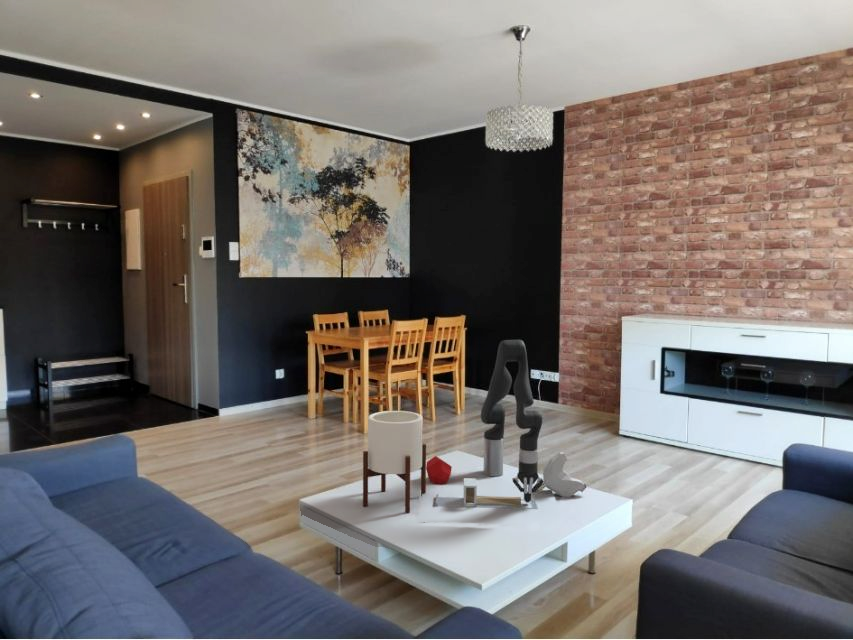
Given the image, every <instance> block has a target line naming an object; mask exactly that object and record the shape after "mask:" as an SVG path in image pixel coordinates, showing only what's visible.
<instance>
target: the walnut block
mask: <svg viewBox="0 0 853 640" xmlns="http://www.w3.org/2000/svg"><path fill="white" fill-rule="evenodd" d="M466 503H474V488H467V487H466Z"/></svg>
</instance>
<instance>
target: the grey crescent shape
mask: <svg viewBox="0 0 853 640" xmlns="http://www.w3.org/2000/svg"><path fill="white" fill-rule="evenodd" d="M566 461H567V457H566V454H565V453H564V452H561V451H560V452H558V453H557V454H555V455H554V456H552V457H551V458H550V459H549V460H548V462H547V464H546V465H545V467H544V468H543V471H542V479H543V481H544V482H543V484H542V485H541V486H540V487H539V488H538V490H537V491H538V492H539V493H541V491H543V490H544V489H545V488H547V489H548V490H550V491H552V492H554V493H556V494H557V496H560V497H572V496H573V495H575V494H576V493H577V492H581V493H583V492H584V491H585V490H586V488H587V485H586V483H584V482H582V480H580V479H577V478H574V477H571V476H569V474H568V473H567V472H566V470H564V466H565V464H566Z"/></svg>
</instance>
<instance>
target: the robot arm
mask: <svg viewBox="0 0 853 640" xmlns="http://www.w3.org/2000/svg"><path fill="white" fill-rule="evenodd" d="M527 355H528V353H527V348H526V344H525V342H524V341H523V340H522V339H504V340H502V341H500V343H499V345H498V348H497V355H496V360H495V366H494V369H493V372H492V376H491V379H490V383H489V387H488V391H487V395H486V397H485V399H484V403H483V405H482V407H481V409H480V410H481V411H480V419H481V422H482V423H483V424H485V425H493V427H490V428H489V429H487V430H485V431H484V435H483V474H484V475H486V476H489V477H500V476H503V475H504V438H505V437H504V436H505V435H504V434H505V425H506V424H505V423H506V409H505V407H504V405H503V404H501V403H500V404H499V402H500V401H502V400H503V399H504V398H506V397H507V396H508V394H509V392H510V390H511V387H512V384H513V393H514V394H513V395H514V398H515V404H516V405H515V406H516V413H515V424H516V426H517V427H518V428H519V429H522V430H528V429H529V430H528V431H527V432H524V433H523V434H521V435H520V436H519V453H518V472H517V476H515V477H513V478H512V480H511V481H512V483H513V484H514V485H515V487H516V489H518V490H519V492H520V493H523V499H524V500H523V501H524V502H525V503H531V500H532V494H533V493H536V492H537V491H539V490H538V488H539V487H540V486H541V485H542V484H543V483H544V480H543V477H542V478H541V477H539V473H538V468H539V467H538V465H539V464H538V461H539V456H538V455H539V453H538V439H539V435H540V431H541V430H542V429H541V428H542V427H543V421H544V420H543V419H544V418H543V415H542V413H541V412H540V411H538V410H525V409H527V408H528V407H529V408H530V407H531V406H533V405H534V397H533V393H532V389H531V384H530V378H529V377H530V376H529V365H528V356H527ZM507 362H518V372H517V375H516V378H515V380H514V383H513V378H512V376H511V374H510V372H509V370H508V369H507V367H506V364H507ZM519 482H520V483H521V484H522V485H521V484H520V483H519ZM522 486H523V487H522Z"/></svg>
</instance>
